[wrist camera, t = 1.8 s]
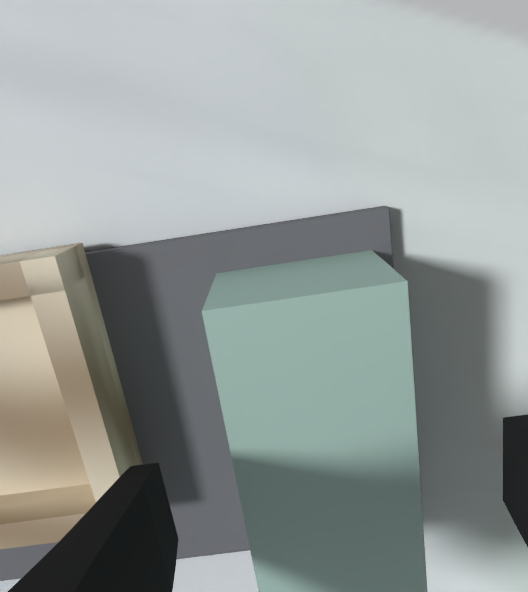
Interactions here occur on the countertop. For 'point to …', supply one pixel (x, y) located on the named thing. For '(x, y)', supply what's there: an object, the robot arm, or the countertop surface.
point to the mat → (194, 359)
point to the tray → (56, 397)
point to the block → (322, 422)
